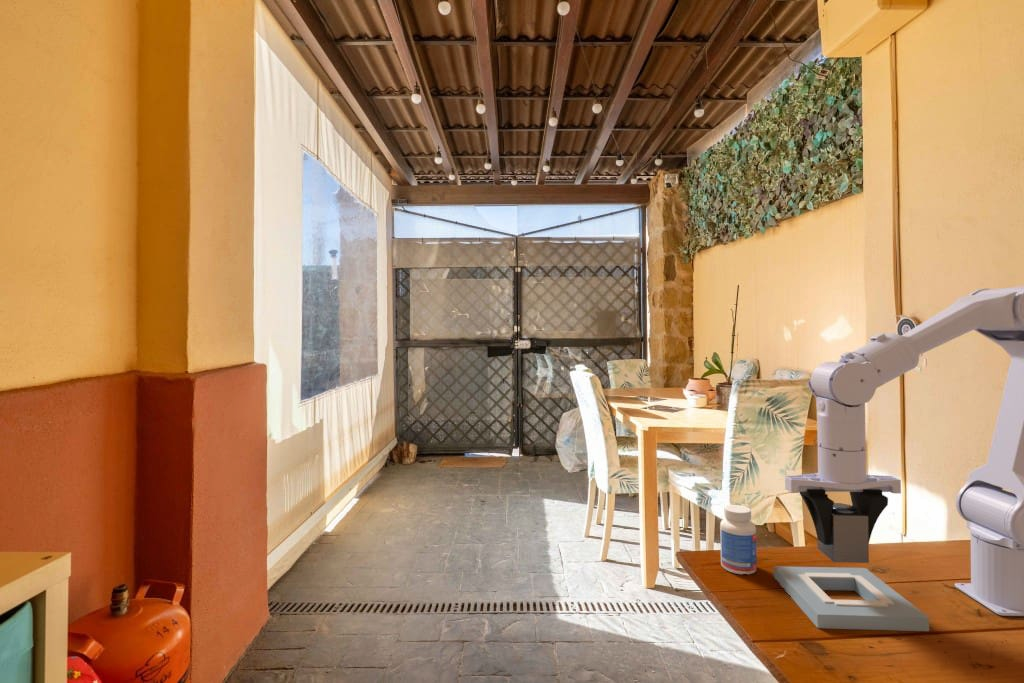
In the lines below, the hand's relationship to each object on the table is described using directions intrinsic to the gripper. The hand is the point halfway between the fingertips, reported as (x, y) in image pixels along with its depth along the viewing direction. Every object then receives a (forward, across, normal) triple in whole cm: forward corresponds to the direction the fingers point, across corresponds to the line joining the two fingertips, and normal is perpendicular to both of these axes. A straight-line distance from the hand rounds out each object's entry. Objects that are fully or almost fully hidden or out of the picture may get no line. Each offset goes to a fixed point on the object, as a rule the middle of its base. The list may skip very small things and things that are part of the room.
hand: (842, 542), depth 72 cm
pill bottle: (+9, +11, -10) cm, 17 cm away
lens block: (+2, 0, 0) cm, 2 cm away
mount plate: (+9, 0, 0) cm, 9 cm away
